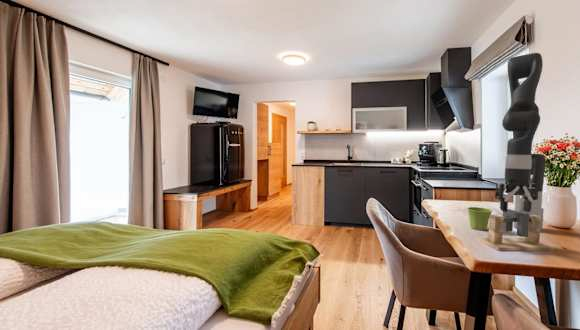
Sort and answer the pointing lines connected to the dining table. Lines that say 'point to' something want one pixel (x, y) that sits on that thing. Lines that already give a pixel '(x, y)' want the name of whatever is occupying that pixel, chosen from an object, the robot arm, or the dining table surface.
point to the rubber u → (521, 222)
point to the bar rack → (514, 243)
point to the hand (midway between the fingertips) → (515, 211)
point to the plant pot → (479, 217)
